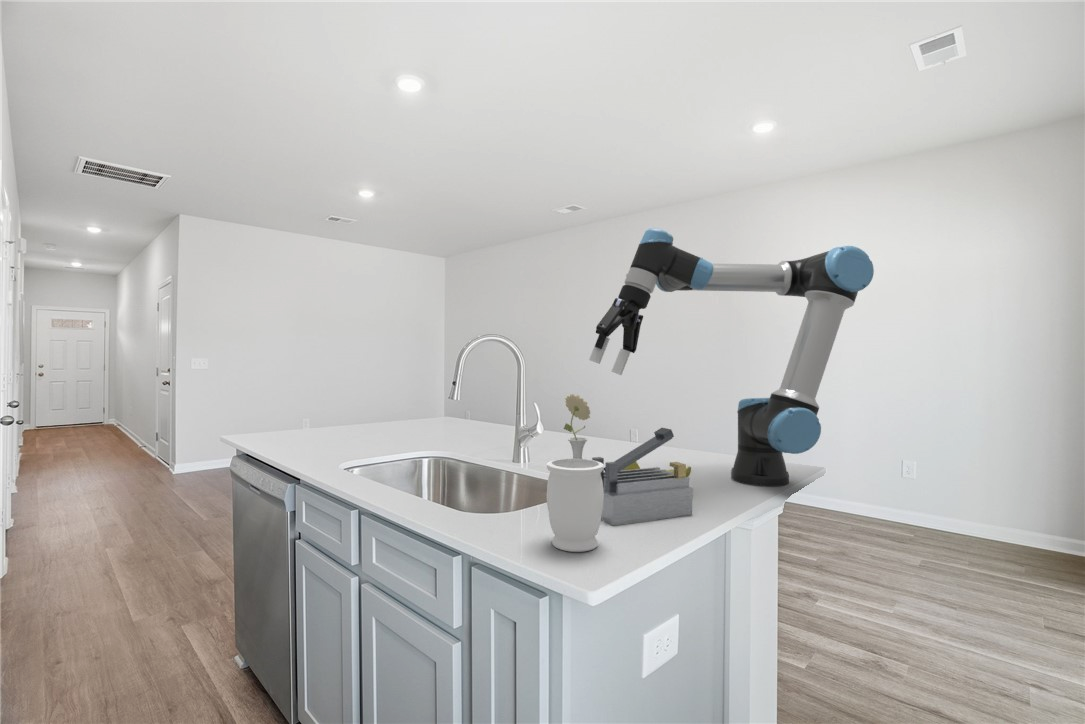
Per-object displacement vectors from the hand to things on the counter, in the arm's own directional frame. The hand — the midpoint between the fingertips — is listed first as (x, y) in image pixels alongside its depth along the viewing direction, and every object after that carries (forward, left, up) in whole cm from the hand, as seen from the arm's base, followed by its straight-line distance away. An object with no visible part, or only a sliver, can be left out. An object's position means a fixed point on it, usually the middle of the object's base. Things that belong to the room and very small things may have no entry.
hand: (605, 368), depth 134 cm
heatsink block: (+1, +15, -32) cm, 35 cm away
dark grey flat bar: (0, +15, -19) cm, 24 cm away
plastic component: (-15, -1, -32) cm, 36 cm away
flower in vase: (+6, -5, -32) cm, 33 cm away
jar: (+23, +29, -32) cm, 49 cm away
